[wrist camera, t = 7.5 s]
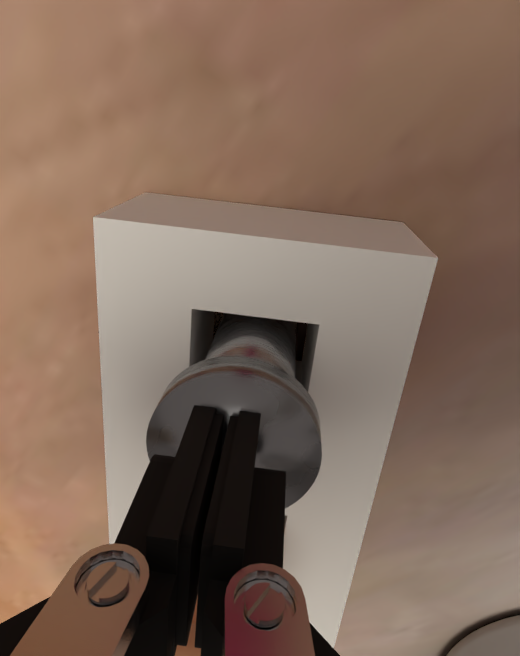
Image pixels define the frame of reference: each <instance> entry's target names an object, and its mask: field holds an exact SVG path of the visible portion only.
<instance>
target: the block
mask: <svg viewBox="0 0 520 656" xmlns="http://www.w3.org/2000/svg"><path fill="white" fill-rule="evenodd" d="M93 225H94V245H95V265H96V285H97V305H98V325H99V345H100V365H101V385H102V404H103V424H104V444H105V464H106V484H107V504H108V524H109V544H114V543H115V541H116V538H117V536H118V534H119V531H120V529H121V527H122V524H123V522H124V520H125V517H126V515H127V513H128V511H129V508H130V506H131V504H132V501H133V499H134V497H135V494H136V492H137V490H138V488H139V485H140V483H141V481H142V478H143V476H144V474H145V471H146V469H147V467H148V465H149V462H150V460H149V457H148V453H147V446H146V435H147V429H148V425H149V422H150V419H151V417H152V415H153V413H154V411H155V409H156V407H157V405H158V403H159V401H160V399H161V397H162V395H163V393H164V391H165V390H166V388H167V386H168V385H169V384H170V382H171V381H172V380H173V379H174V378H175V377H176V376H177V375H178V374H179V373H181V372H182V371H183V370H185V369H186V368H188V367H190V366H191V365H193V364H196V363H198V362H200V361H203V360H205V359H206V356H207V354H208V351H209V349H210V346H211V344H212V341H213V332H214V317H215V312H222V313H230V314H238V315H246V316H254V317H262V318H270V319H278V320H286V321H294V322H302V323H308V325H307V331H306V338H305V344H304V350H303V357H302V361H297V360H296V368H295V379H297V380H298V381H299V382H300V383H301V384H302V385H303V386H304V388H305V389H306V390H307V392H308V393H309V394H310V396H311V398H312V399H313V401H314V403H315V406H316V408H317V411H318V414H319V419H320V430H321V446H322V460H321V466H320V470H319V473H318V475H317V478H316V480H315V482H314V483H313V485H312V486H311V488H310V489H309V490H308V491H307V493H306V494H305V495H304V496H303V497H302V498H300V499H299V500H298V501H297V502H296V503H294V504H292V505H291V506H289V507H288V508H285V521H284V552H283V569H285V570H286V571H287V572H289V573H290V574H291V575H292V576H294V577H295V579H296V580H297V582H298V583H299V584H300V586H301V587H302V590H303V593H304V596H305V600H306V606H307V611H308V617H309V622H310V623H311V624H312V625H313V627H314V628H315V629H316V630H317V631H318V632H319V633H320V634H321V635H322V636H323V638H324V639H325V640H326V641H327V642H328V643H329V644H330V645H331V646H332V647H333V649H334V645H335V641H336V638H337V634H338V630H339V627H340V623H341V619H342V615H343V612H344V608H345V604H346V600H347V597H348V593H349V589H350V585H351V582H352V578H353V574H354V571H355V567H356V563H357V559H358V556H359V552H360V548H361V544H362V541H363V537H364V533H365V529H366V526H367V522H368V518H369V515H370V511H371V507H372V503H373V500H374V496H375V492H376V488H377V485H378V481H379V477H380V473H381V470H382V466H383V462H384V459H385V455H386V451H387V447H388V444H389V440H390V436H391V432H392V429H393V425H394V421H395V417H396V414H397V410H398V406H399V403H400V399H401V395H402V391H403V388H404V384H405V380H406V376H407V373H408V369H409V365H410V361H411V358H412V354H413V350H414V347H415V343H416V339H417V335H418V332H419V328H420V324H421V320H422V317H423V313H424V309H425V305H426V302H427V298H428V294H429V291H430V287H431V283H432V279H433V276H434V272H435V268H436V264H437V261H438V257H437V256H436V255H435V254H434V253H433V252H432V251H431V250H430V249H429V248H428V247H427V246H426V245H425V244H424V243H423V242H422V241H421V240H420V239H419V238H418V237H417V236H416V235H415V234H414V233H413V232H412V231H411V230H410V229H409V228H408V227H407V226H406V225H405V224H404V222H397V221H388V220H380V219H371V218H362V217H354V216H345V215H337V214H328V213H320V212H311V211H302V210H294V209H285V208H277V207H268V206H259V205H251V204H242V203H234V202H225V201H216V200H208V199H199V198H191V197H182V196H173V195H165V194H156V193H148V192H145V193H143V194H141V195H139V196H137V197H134V198H132V199H130V200H128V201H126V202H124V203H122V204H120V205H117V206H115V207H113V208H111V209H109V210H107V211H105V212H103V213H100V214H98V215H96V216H94V217H93Z"/></svg>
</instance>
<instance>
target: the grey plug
mask: <svg viewBox="0 0 520 656" xmlns="http://www.w3.org/2000/svg"><path fill="white" fill-rule="evenodd" d="M296 328H297V323H296V322H294V321H286V320H278V319H270V318H262V317H254V316H246V315H238V314H230V313H224V314H223V316H222V319H221V321H220V324H219V326H218V329H217V331H216V334H215V336H214V339H213V341H212V344H211V346H210V349H209V351H208V354H207V356H206V359H205V360H203V361H200V362H198V363H196V364H193V365H191V366H190V367H188V368H186V369H185V370H183V371H182V372H181V373H179V374H178V375H177V376H176V377H175V378H174V379H173V380H172V381H171V382H170V384H169V385H168V386H167V388H166V390H165V391H164V393H163V395H162V397H161V399H160V401H159V403H158V405H157V407H156V409H155V411H154V413H153V415H152V417H151V419H150V422H149V425H148V429H147V435H146V446H147V453H148V457H149V460H151V458H152V456H153V455H154V454H157V455H165V456H172V457H175V456H176V453H177V451H178V448H179V445H180V442H181V440H182V437H183V434H184V431H185V429H186V426H187V423H188V420H189V418H190V415H191V412H192V409H193V407H194V405H199V406H206V407H214V408H216V411H217V412H216V414H223V415H224V423H223V436H222V448H221V454H222V450H223V445H224V441H225V437H226V432H227V428H228V423H229V419H230V416H239V412H240V411H246V412H254V413H261V419H260V427H259V435H258V443H257V452H256V460H255V467H257V468H264V469H272V470H280V471H286V491H285V508H288V507H289V506H291V505H292V504H294V503H296V502H297V501H298V500H299V499H300V498H302V497H303V496H304V495H305V494H306V493H307V491H308V490H309V489H310V488H311V486H312V485H313V483H314V482H315V480H316V478H317V475H318V473H319V470H320V466H321V460H322V446H321V430H320V419H319V414H318V411H317V408H316V406H315V403H314V401H313V399H312V398H311V396H310V394H309V393H308V392H307V390H306V389H305V388H304V386H303V385H302V384H301V383H300V382H299V381H298V380H297V379H295V368H296Z"/></svg>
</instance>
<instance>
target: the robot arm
mask: <svg viewBox="0 0 520 656" xmlns="http://www.w3.org/2000/svg"><path fill="white" fill-rule="evenodd" d="M216 412H217V411H216V408H214V407H206V406H199V405H194V407H193V409H192V412H191V415H190V418H189V420H188V423H187V426H186V429H185V431H184V434H183V437H182V440H181V442H180V445H179V448H178V451H177V453H176V456H175V457H172V456H165V455H157V454H154V455H153V456H152V458H151V460H150V462H149V465H148V467H147V469H146V471H145V474H144V476H143V478H142V481H141V483H140V485H139V488H138V490H137V492H136V494H135V497H134V499H133V501H132V504H131V506H130V508H129V511H128V513H127V515H126V517H125V520H124V522H123V524H122V527H121V529H120V531H119V534H118V536H117V538H116V541H115V543H114V544H106V545H102V546H99V547H97V548H94V549H91V550H90V551H88V552H87V553H85V554H84V555H82V556H81V557H80V558H79V559H78V560H77V561H76V562H75V563H74V564H73V565H72V567H71V568H70V570H69V571H68V572H67V574H66V575H65V577H64V578H63V580H62V581H61V583H60V584H59V585H58V587H57V588H56V590H55V591H54V593H53V594H52V596H51V597H49V598H47V599H45V600H43V601H41V602H40V603H38V604H36V605H34V606H32V607H30V608H29V609H27V610H25V611H23V612H21V613H19V614H18V615H16V616H14V617H12V618H10V619H8V620H6V621H5V622H3V623H1V624H0V656H175V652H176V648H177V645H180V646H187V643H188V638H189V634H190V629H191V624H192V620H193V615H194V610H195V605H196V601H197V616H196V631H195V648H201V656H340V655H339V654H338V653H337V652H336V651H335V650H334V649H333V647H332V646H331V645H330V644H329V643H328V642H327V641H326V640H325V639H324V638H323V636H322V635H321V634H320V633H319V632H318V631H317V630H316V629H315V628H314V627H313V625H312V624H311V623H310V622H309V617H308V611H307V606H306V600H305V596H304V593H303V590H302V587H301V586H300V584H299V583H298V582H297V580H296V579H295V577H294V576H292V575H291V574H290V573H289V572H287V571H286V570H285V569H283V552H284V521H285V491H286V471H280V470H272V469H264V468H257V467H255V460H256V452H257V443H258V435H259V427H260V419H261V413H254V412H246V411H240V412H239V416H230V419H229V423H228V428H227V432H226V437H225V441H224V445H223V450H222V454H221V448H222V436H223V423H224V415H223V414H216ZM197 596H198V600H197Z"/></svg>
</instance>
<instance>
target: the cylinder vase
mask: <svg viewBox="0 0 520 656" xmlns="http://www.w3.org/2000/svg"><path fill="white" fill-rule="evenodd" d="M446 656H520V615H517V616H513V617H509V618H505V619H502V620H499V621H496V622H493V623H491V624H488V625H486V626H484V627H481V628H480V629H478V630H476V631H474V632H472V633H471V634H469V635H468V636H466V637H465V638H463V639H462V640H461V641H459V642H458V643H457V644H456V645H455V646H454V647H453V648H452V649H451V650H450V651H449V653H448V654H447V655H446Z"/></svg>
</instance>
